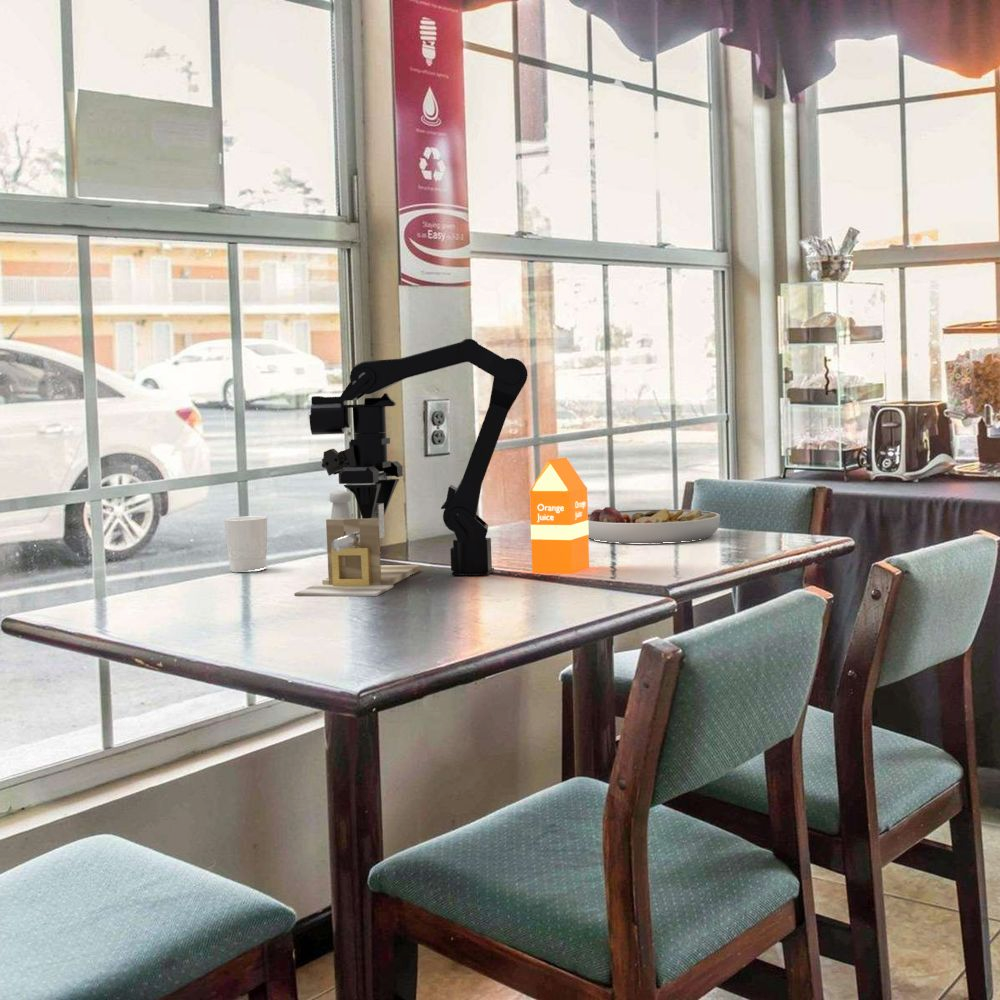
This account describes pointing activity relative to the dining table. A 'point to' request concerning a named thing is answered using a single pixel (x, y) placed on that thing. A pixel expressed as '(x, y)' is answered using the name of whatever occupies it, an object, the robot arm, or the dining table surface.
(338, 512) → the salt shaker
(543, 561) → the orange juice
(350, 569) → the wooden latch stand
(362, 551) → the frame
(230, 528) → the white cup
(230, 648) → the dining table surface
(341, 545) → the shaft
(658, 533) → the bowl
